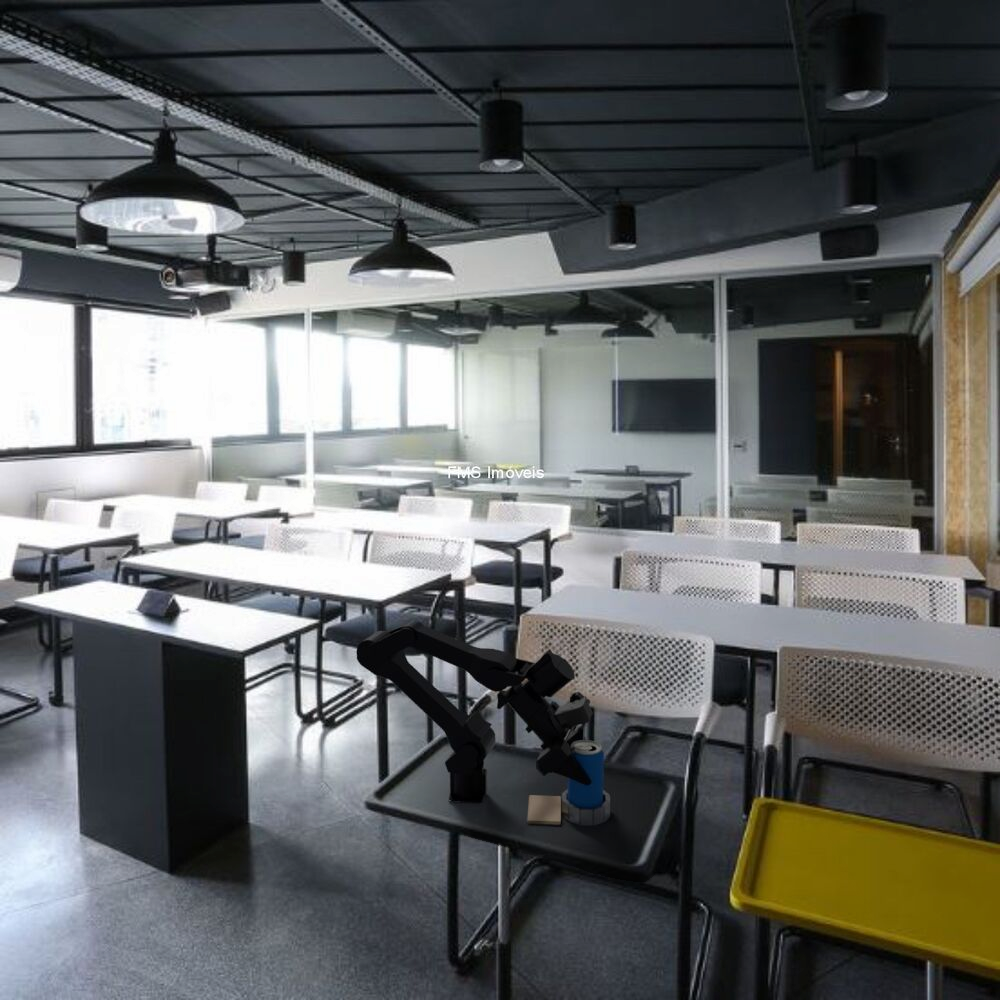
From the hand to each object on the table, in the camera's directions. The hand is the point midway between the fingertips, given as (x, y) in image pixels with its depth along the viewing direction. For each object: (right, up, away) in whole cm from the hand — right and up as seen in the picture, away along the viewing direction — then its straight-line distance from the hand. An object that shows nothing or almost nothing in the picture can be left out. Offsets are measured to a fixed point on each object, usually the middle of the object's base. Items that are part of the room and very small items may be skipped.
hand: (593, 775), depth 151 cm
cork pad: (-9, -7, +2) cm, 12 cm away
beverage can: (-1, -7, +1) cm, 7 cm away
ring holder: (-1, -7, +1) cm, 8 cm away
